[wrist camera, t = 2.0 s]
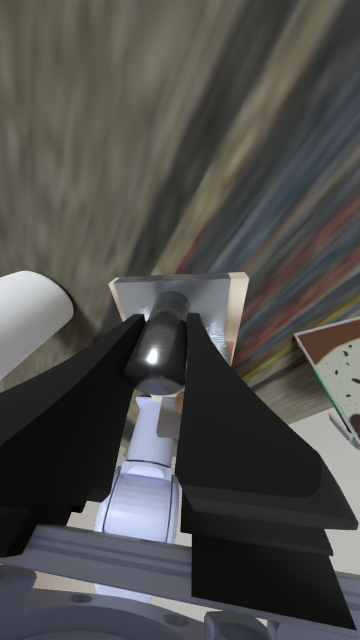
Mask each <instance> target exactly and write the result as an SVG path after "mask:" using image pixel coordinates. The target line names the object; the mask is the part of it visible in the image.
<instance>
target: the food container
mask: <svg viewBox="0 0 360 640" xmlns="http://www.w3.org/2000/svg"><path fill="white" fill-rule="evenodd" d="M294 338H295V341H296V343H297V344H298V346H299V348H300V349H301V351H302V353H303V354H304V356H305V358H306V360H307V361H308V363H309V365H310V366H311V368H312V370H313V372H314V373H315V375H316V377H317V378H318V380H319V382H320V383H321V385H322V387H323V389H324V390H325V392H326V394H327V395H328V397H329V399H330V401H331V402H332V404H333V406H334V407H335V409H336V411H337V412H338V414H339V416H340V417H341V419H342V421H343V423H344V424H345V426H346V428H347V429H348V430H347V429H345V428H344V427H343V426H342V424H341V423H340V422H339V421H338V420H337V419H336V418H335V417H334V416H333V415H332V414H331V413H329V418H330V420H331V422H332V423H333V424H334V425H335V426H336V427H337V429H338V430H339V431H340V432H341V433H342V434H343V435H344V437H345V438H346V439H347V440H348V441H349V442H350V443H351V445H352V446H354V447H355V448H357V449H359V450H360V316H359V317H356V318H352V319H348V320H344V321H340V322H337V323H333V324H329V325H325V326H322V327H318V328H314V329H310V330H306V331H303V332H299V333H295V334H294Z"/></svg>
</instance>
